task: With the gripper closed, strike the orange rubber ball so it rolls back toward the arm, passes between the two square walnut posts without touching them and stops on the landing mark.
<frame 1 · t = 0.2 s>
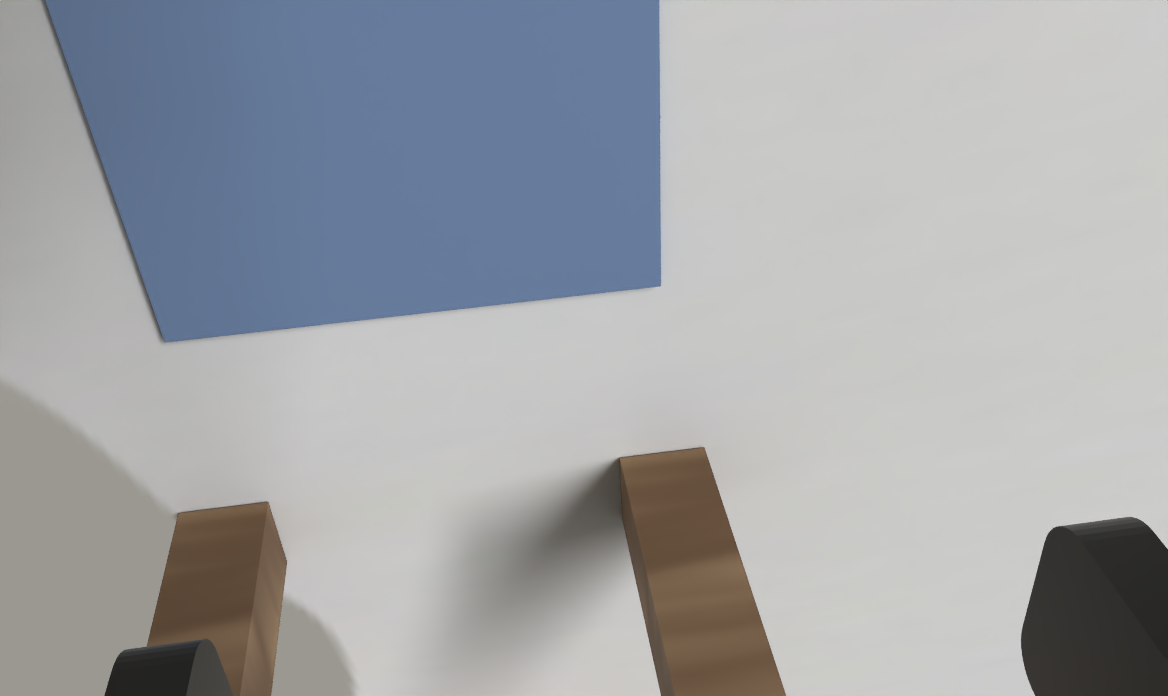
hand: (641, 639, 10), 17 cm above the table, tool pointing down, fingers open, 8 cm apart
post 2: (662, 483, 33), on the table
landing mark: (377, 75, 25), on the table
post 1: (234, 538, 33), on the table
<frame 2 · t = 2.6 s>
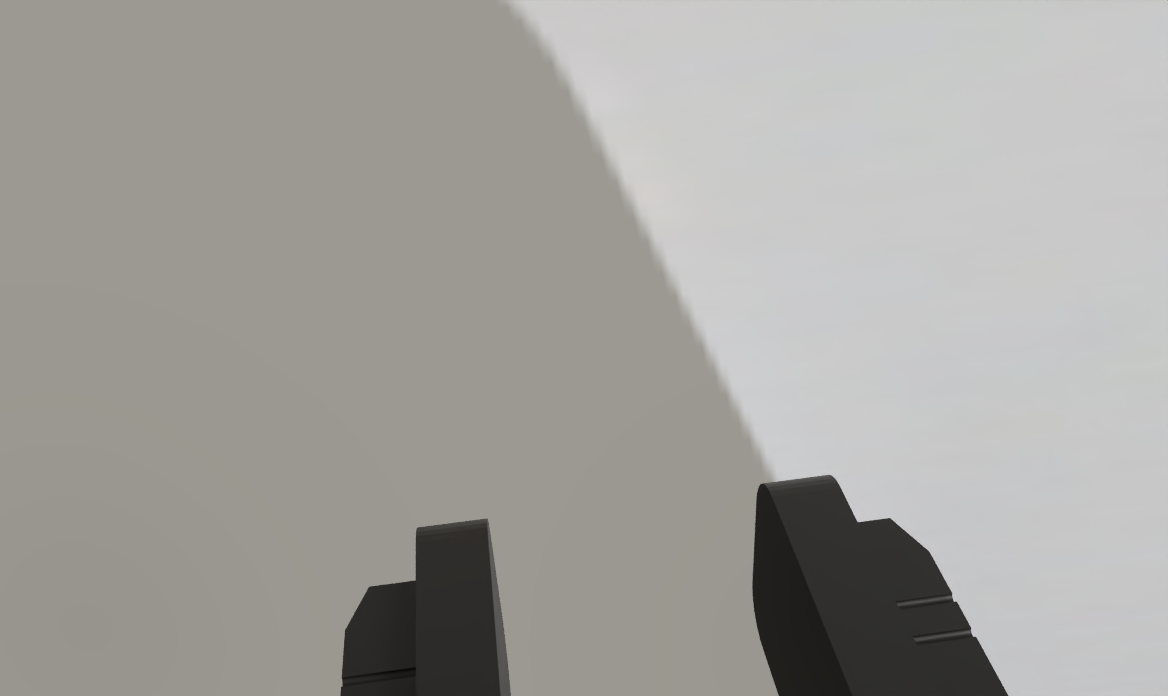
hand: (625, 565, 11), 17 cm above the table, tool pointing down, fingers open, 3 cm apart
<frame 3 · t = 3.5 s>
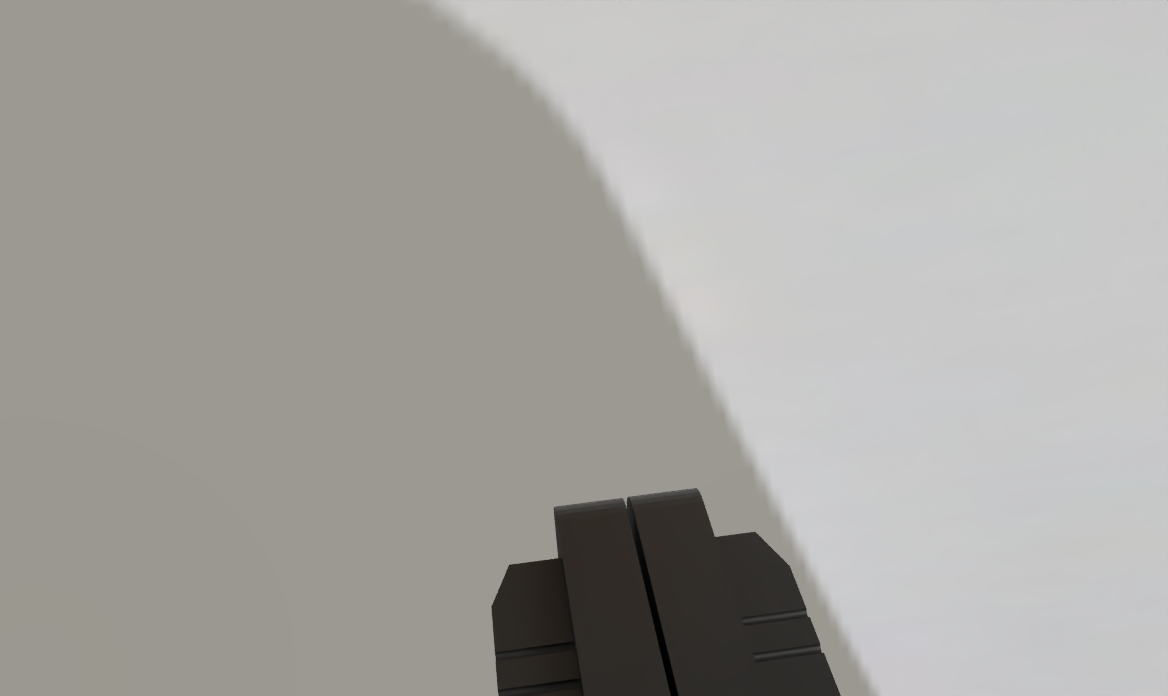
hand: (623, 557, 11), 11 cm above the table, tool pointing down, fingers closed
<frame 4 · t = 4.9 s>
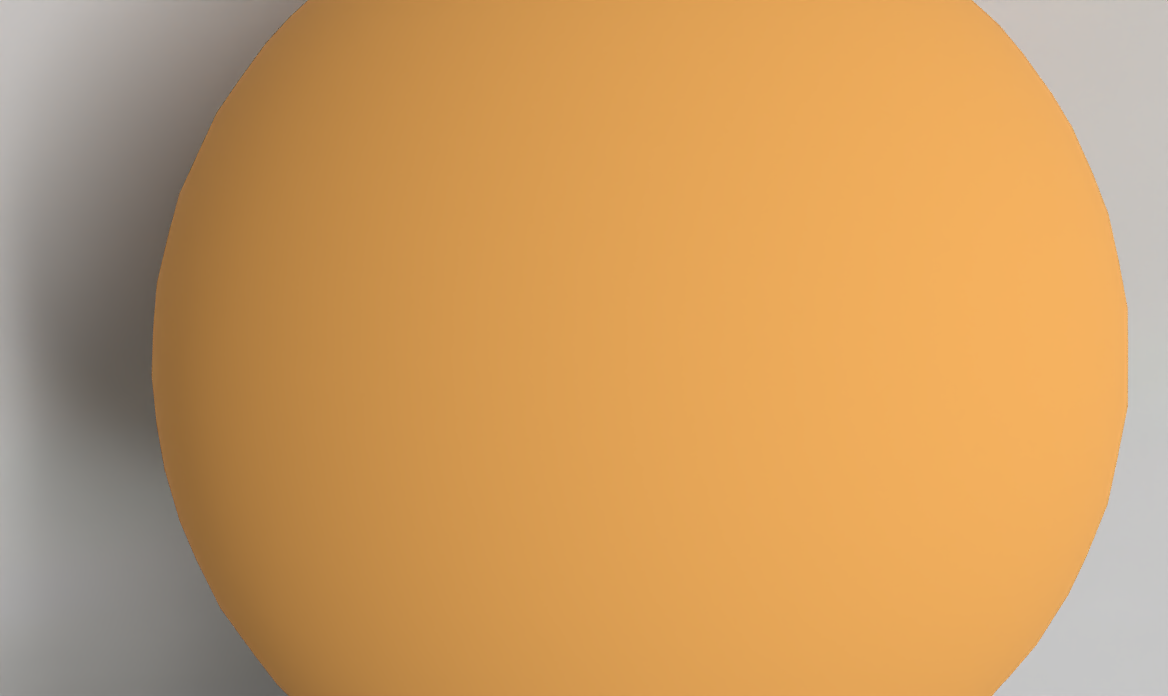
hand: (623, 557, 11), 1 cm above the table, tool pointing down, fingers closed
ball: (630, 355, 7), on the table
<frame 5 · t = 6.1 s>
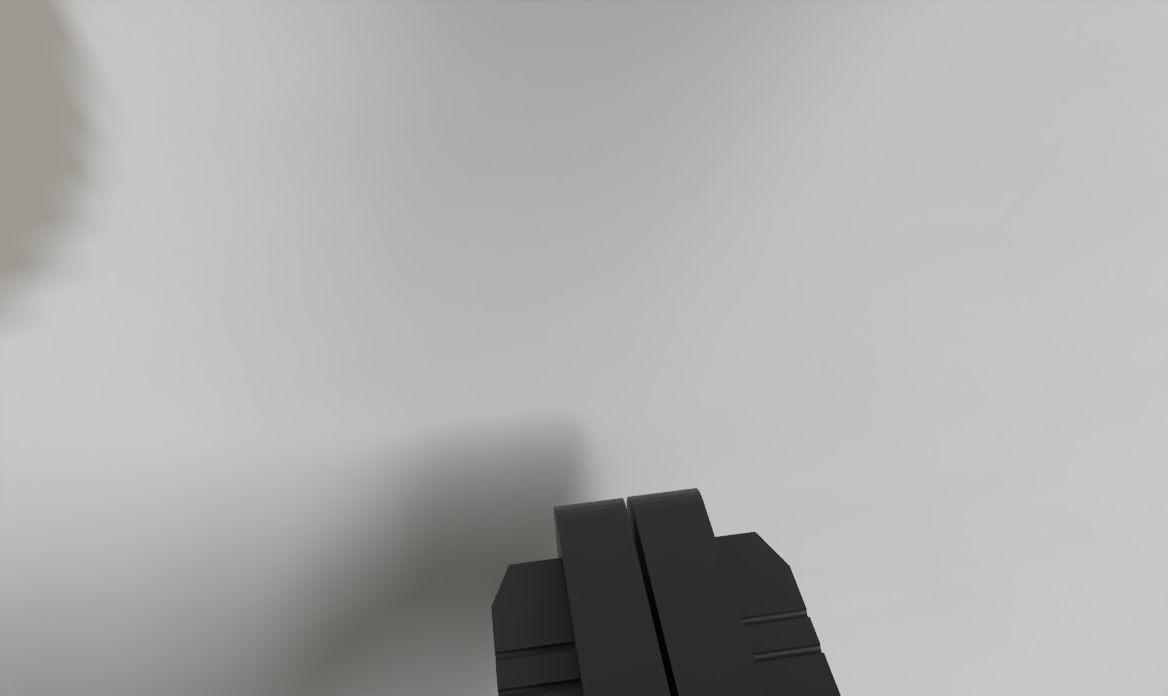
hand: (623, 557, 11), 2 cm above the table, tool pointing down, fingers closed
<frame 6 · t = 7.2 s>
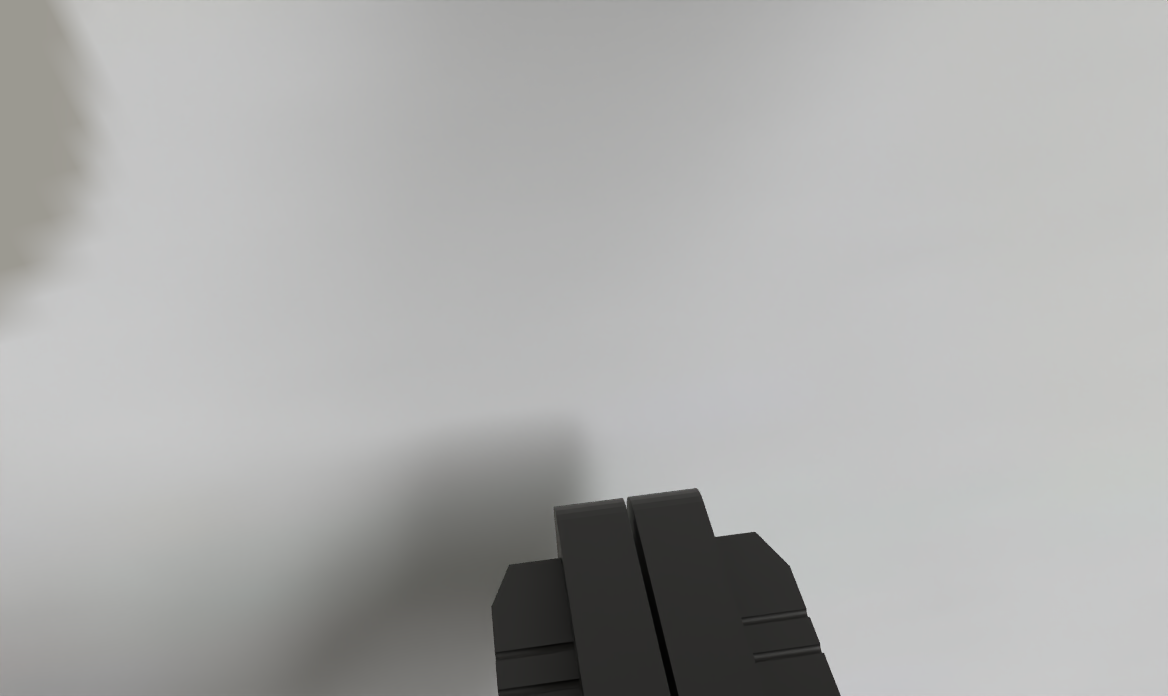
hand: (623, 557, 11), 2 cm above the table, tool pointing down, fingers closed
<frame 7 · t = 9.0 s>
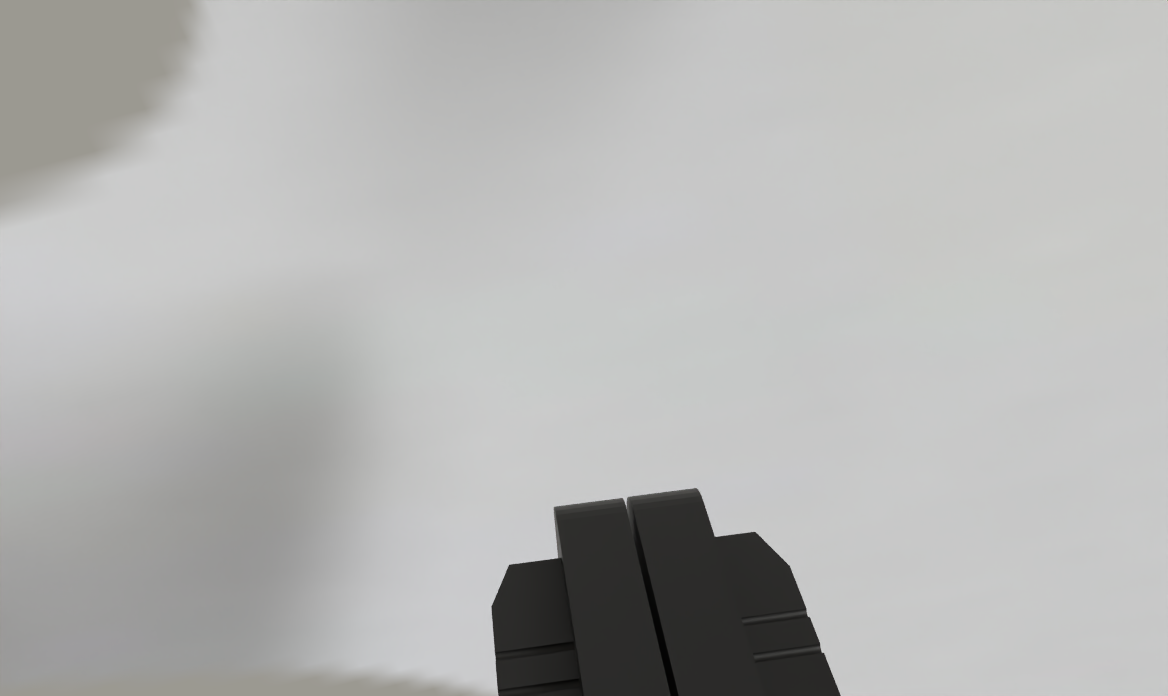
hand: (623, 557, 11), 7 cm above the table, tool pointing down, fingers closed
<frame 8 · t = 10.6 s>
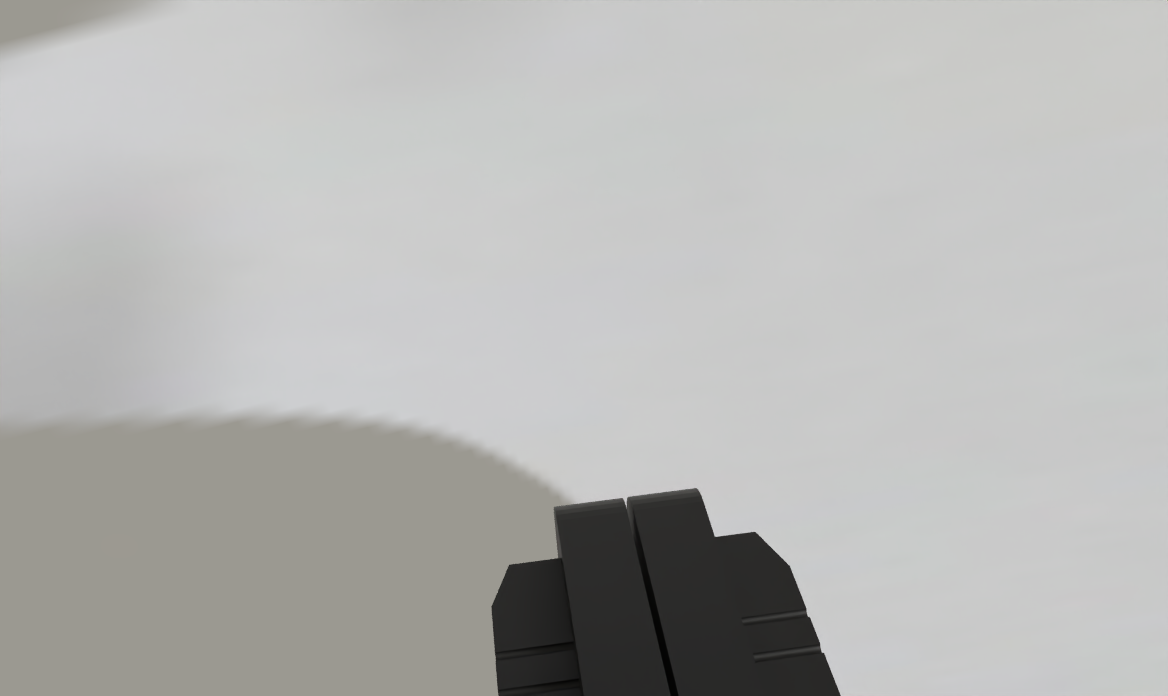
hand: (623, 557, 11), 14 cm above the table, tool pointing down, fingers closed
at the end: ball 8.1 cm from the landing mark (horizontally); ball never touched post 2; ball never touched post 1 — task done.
